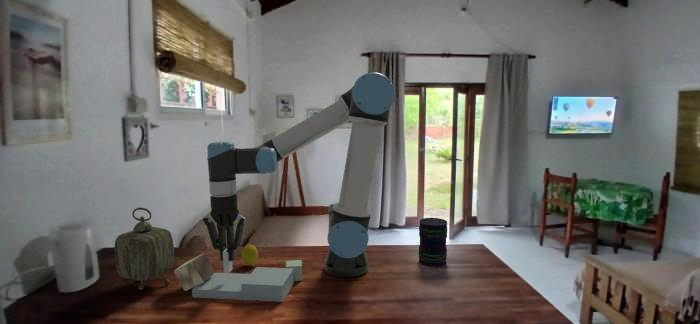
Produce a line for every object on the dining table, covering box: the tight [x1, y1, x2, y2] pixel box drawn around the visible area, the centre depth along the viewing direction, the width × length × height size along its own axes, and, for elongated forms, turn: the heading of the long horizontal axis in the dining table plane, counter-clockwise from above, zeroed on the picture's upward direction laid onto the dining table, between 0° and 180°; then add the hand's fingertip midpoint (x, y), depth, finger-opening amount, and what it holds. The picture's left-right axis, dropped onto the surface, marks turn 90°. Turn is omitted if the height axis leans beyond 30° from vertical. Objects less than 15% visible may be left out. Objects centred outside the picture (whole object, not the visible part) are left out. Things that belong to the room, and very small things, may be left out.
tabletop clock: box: [114, 207, 175, 291], centre depth 113 cm, size 14×9×25 cm, turn 74°
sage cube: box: [285, 259, 303, 282], centre depth 120 cm, size 5×5×5 cm
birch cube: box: [173, 252, 216, 292], centre depth 113 cm, size 7×7×7 cm
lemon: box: [241, 243, 259, 267], centre depth 130 cm, size 6×6×8 cm
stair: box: [191, 266, 295, 303], centre depth 111 cm, size 27×12×5 cm, turn 83°
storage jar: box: [418, 217, 448, 268], centre depth 132 cm, size 10×10×15 cm
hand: (228, 270), depth 112 cm, fingers closed
